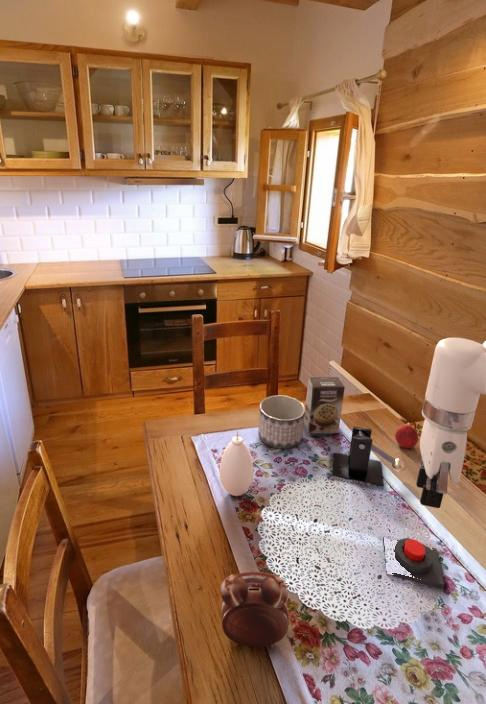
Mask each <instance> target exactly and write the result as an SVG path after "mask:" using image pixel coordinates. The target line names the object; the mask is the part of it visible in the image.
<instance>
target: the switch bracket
mask: <svg viewBox="0 0 486 704" xmlns="http://www.w3.org/2000/svg"><path fill="white" fill-rule="evenodd" d="M359 431H361V432H362V433H364V434H365V435H367V436H368V437H369V438H364V437H359V436H355V435H356V434H357V433H358V432H359ZM372 432H373V431H372V429H371V428H366V427H360V426H352V432H351V439H350V445H349V452H348V454H344V453H338V452H333V457H332V474H331V476H332V477H336V478H341V479H345V480H350V481H355V482H356V481H357V482H360V483H364V484H370V485H375V486H379V487H384V479H383V470H382V462H381V460H376V459H371V458H370V457H371V452H372V450H371V447H372V444H373V438H372Z"/></svg>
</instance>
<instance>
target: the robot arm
mask: <svg viewBox="0 0 486 704" xmlns="http://www.w3.org/2000/svg"><path fill="white" fill-rule="evenodd" d="M481 395H485V396H486V340H485V341H484V342H483V343H480V342H477V341H475V340H472V339H468V338H463V337H446V338H444V339H441V340H439V341H438V342H437V344H436V346H435V349H434V353H433V356H432V363H431V366H430V372H429V377H428V381H427V385H426V390H425V395H424V400H423V404H422V409H421V416H422V417H423V419H424V421H423V425H422V428H421V433H420V438H419V451H420V455H421V460H420V467H419V469H418V474H417V479H416V483H415V484H416V487H417V488H419V489H420V488H421V489H422V490H421V495H420V499H419V503H420V505H421V506H424V507H425V506H426V507H430V508H435V509H440V508H441V505H442V501H443V498H444V495H447V494H448V484H449V479H450V481H451V484H455V485H457V484H459V483H460V480H461V475H462V470H463V466H464V462H465V461H464V460H465V456H466V450H467V440H468V430H470V429H471V428H472V426H473V423H474V419H475V415H476V411H477V408H478V404H479V400H480V397H481Z"/></svg>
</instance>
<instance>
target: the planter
mask: <svg viewBox="0 0 486 704" xmlns="http://www.w3.org/2000/svg"><path fill="white" fill-rule="evenodd" d="M304 419H305V405H304V404H303V403H302V402H301V401H300V400H299V399H297V398H295V397H292V396H288V395H283V394H281V395H280V394H279V395H277V394H276V395H271V396H267V397H266V398H264V399H262V400H261V401H260V402H259V413H258V430H257V432H258V438H259V439H260V441H261V442H262V443H263V444H265V445H266V446H268V447H271V448H274V449H279V450H289V449H293V448H296V447H298V446H299V445H300V444H301V443H302V441H303V438H304V427H305V423H304Z"/></svg>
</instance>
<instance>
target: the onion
mask: <svg viewBox="0 0 486 704" xmlns="http://www.w3.org/2000/svg"><path fill="white" fill-rule="evenodd" d="M394 439H395V440H396V443H397V444H398V445H399V446H400V447H401V448H403V449H412V448H414V447H415V446H416V445H417V444H418V442H419V434H418V432H417V430H416V429H415V427H413V426H412V424H411V423H410V422H407V423H406V424H404V425H401V426H399V427H398V428H397V429H396V431H395V432H394Z"/></svg>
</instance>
